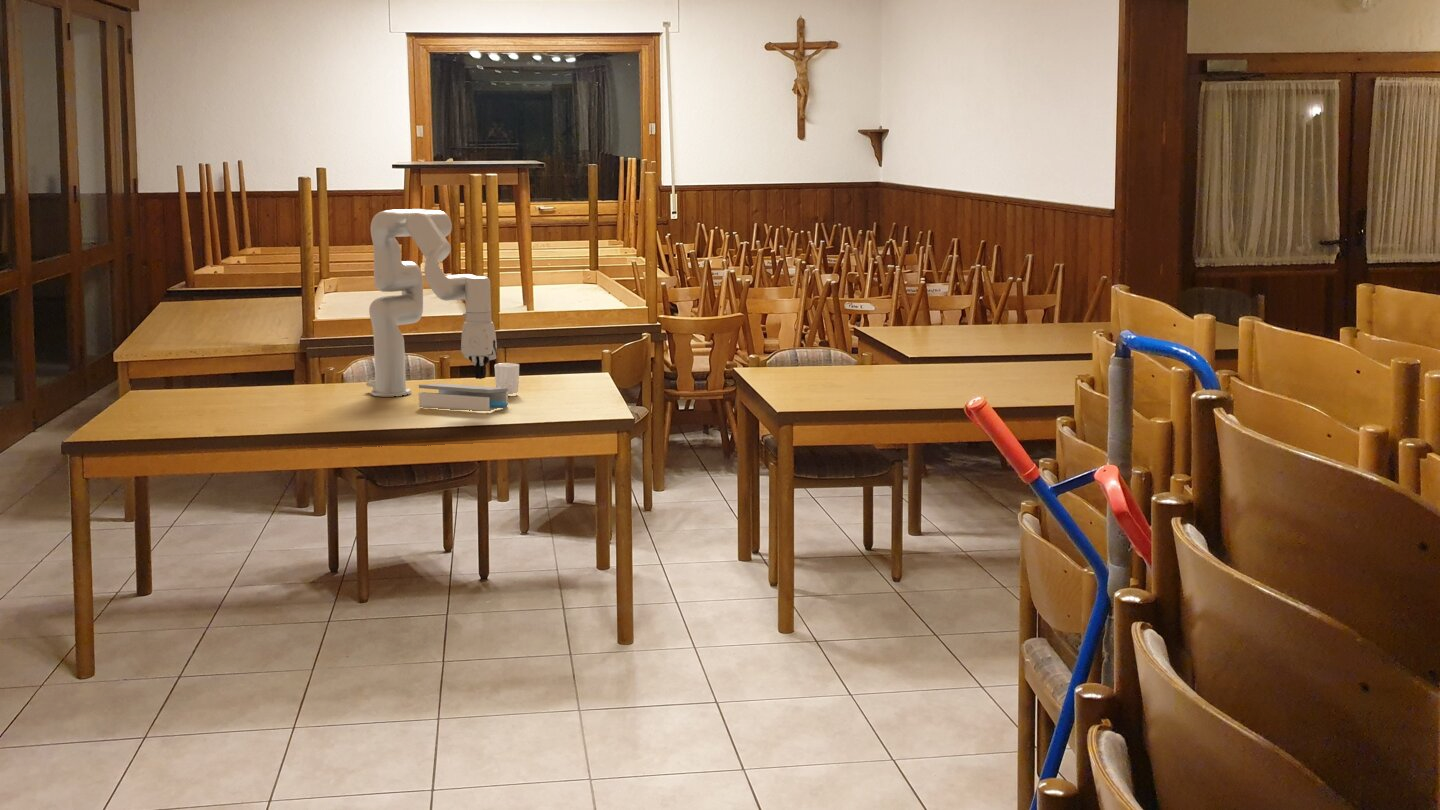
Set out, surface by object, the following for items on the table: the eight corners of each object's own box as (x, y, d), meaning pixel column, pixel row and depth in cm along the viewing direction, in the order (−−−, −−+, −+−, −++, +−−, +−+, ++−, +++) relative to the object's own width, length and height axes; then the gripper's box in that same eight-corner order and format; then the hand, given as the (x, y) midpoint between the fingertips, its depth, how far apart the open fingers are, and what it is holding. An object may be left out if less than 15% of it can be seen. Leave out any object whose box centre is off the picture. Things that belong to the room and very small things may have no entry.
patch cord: (422, 402, 440) (422, 396, 440) (426, 401, 442) (426, 395, 442) (505, 408, 430) (504, 402, 430) (508, 407, 432) (508, 401, 432)
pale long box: (419, 408, 435) (418, 392, 434) (440, 402, 446) (440, 386, 445) (488, 414, 427) (487, 397, 426) (508, 407, 438) (507, 391, 437)
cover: (418, 388, 434) (418, 384, 434) (440, 386, 445) (440, 383, 445) (487, 393, 426) (487, 389, 426) (507, 391, 437) (507, 388, 437)
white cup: (502, 392, 464) (501, 362, 462) (524, 394, 462) (523, 363, 460) (490, 396, 457) (489, 365, 455) (512, 398, 454) (512, 367, 452)
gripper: (450, 318, 427) (452, 378, 430) (494, 320, 422) (495, 381, 425) (463, 315, 434) (465, 375, 437) (506, 317, 428) (508, 377, 432)
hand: (480, 378), depth 431 cm, fingers closed
